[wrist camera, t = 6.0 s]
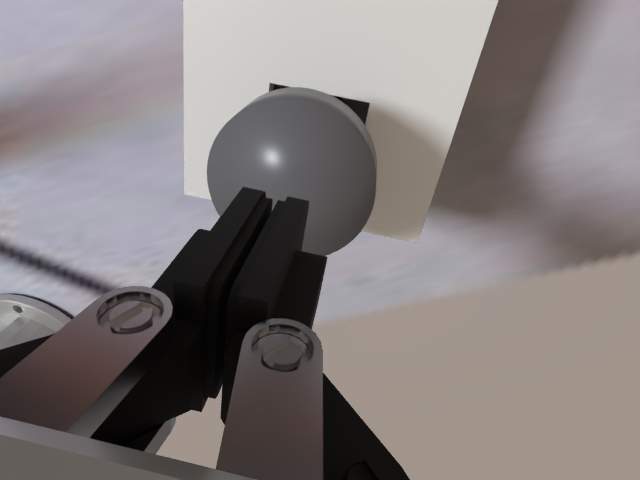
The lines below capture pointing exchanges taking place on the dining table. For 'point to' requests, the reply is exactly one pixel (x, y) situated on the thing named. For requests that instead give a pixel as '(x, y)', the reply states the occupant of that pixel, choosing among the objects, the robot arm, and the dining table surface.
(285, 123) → the knob
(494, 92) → the dining table surface
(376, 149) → the control box
